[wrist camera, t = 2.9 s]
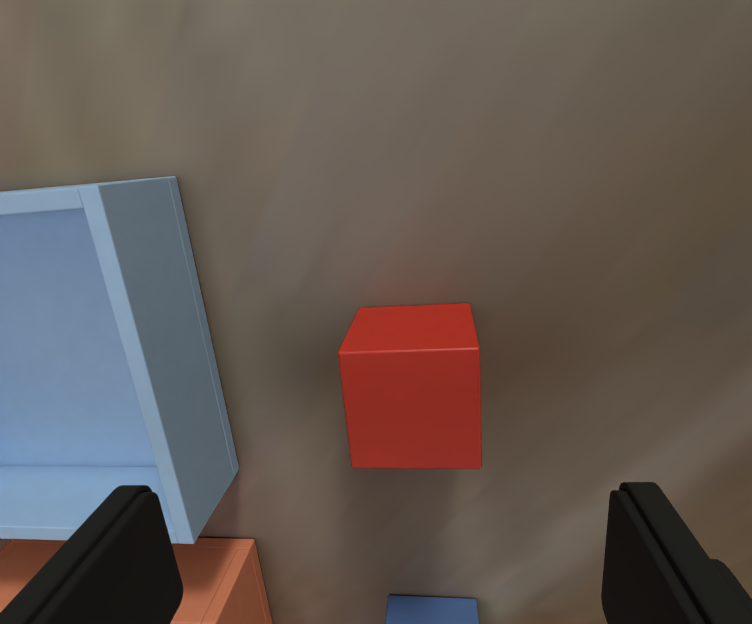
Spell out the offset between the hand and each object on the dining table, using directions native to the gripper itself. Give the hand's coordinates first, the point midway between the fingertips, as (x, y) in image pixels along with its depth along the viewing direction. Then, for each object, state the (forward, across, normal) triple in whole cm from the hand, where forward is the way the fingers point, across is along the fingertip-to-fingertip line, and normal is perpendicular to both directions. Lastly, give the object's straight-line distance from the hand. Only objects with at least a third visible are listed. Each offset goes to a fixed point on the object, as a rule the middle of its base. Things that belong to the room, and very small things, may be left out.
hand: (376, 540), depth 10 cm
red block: (+8, -1, 0) cm, 9 cm away
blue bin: (+9, +13, -1) cm, 16 cm away
